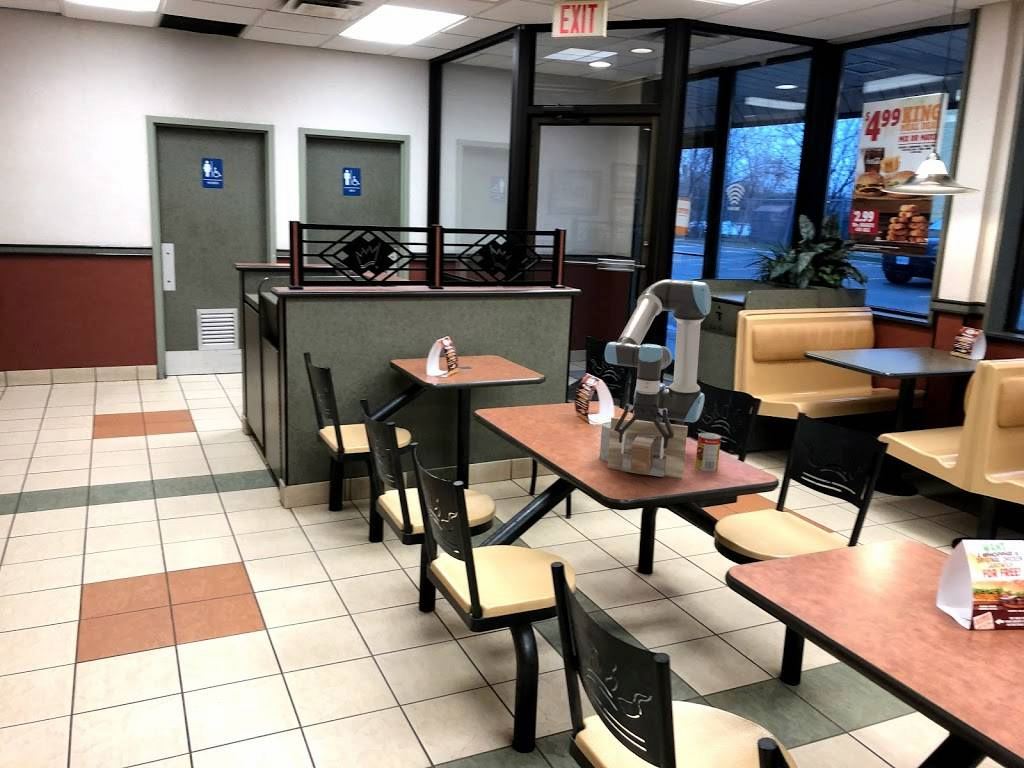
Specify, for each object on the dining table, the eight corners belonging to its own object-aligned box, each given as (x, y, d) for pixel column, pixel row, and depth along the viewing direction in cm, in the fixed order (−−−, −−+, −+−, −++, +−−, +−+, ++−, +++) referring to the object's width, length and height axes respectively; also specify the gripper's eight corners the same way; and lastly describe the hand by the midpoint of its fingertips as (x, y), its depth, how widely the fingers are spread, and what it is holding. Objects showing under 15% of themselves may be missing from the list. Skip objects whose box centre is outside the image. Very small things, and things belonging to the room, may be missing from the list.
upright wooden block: (636, 460, 287) (638, 432, 284) (654, 462, 285) (656, 435, 282) (629, 473, 274) (631, 444, 272) (647, 475, 273) (649, 447, 270)
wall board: (608, 466, 292) (612, 417, 289) (683, 477, 285) (687, 426, 281) (604, 471, 286) (608, 420, 283) (680, 482, 279) (685, 430, 275)
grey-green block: (624, 463, 297) (627, 430, 295) (598, 460, 299) (600, 427, 297) (626, 456, 307) (629, 423, 304) (600, 453, 308) (603, 421, 306)
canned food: (712, 464, 301) (715, 432, 299) (721, 471, 294) (724, 438, 291) (691, 464, 300) (694, 432, 297) (700, 471, 292) (703, 438, 290)
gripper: (608, 389, 272) (603, 452, 277) (683, 398, 265) (677, 462, 269) (613, 385, 279) (608, 447, 284) (686, 393, 272) (680, 456, 276)
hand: (642, 455), depth 277 cm, fingers open, 12 cm apart
